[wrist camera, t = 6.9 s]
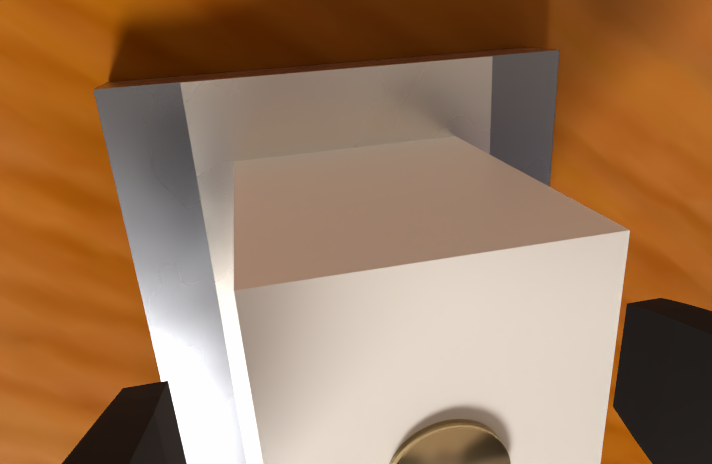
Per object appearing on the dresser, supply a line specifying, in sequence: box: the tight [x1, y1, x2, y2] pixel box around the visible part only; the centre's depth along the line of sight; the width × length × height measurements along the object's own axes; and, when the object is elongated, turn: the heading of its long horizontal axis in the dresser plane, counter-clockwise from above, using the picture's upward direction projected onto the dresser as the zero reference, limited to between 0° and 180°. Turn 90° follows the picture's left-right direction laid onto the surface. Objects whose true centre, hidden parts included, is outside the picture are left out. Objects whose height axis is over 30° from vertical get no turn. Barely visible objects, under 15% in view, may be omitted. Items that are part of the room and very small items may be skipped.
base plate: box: [93, 47, 559, 464], centre depth 14 cm, size 9×18×2 cm, turn 4°
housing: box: [233, 136, 630, 464], centre depth 10 cm, size 4×6×6 cm
